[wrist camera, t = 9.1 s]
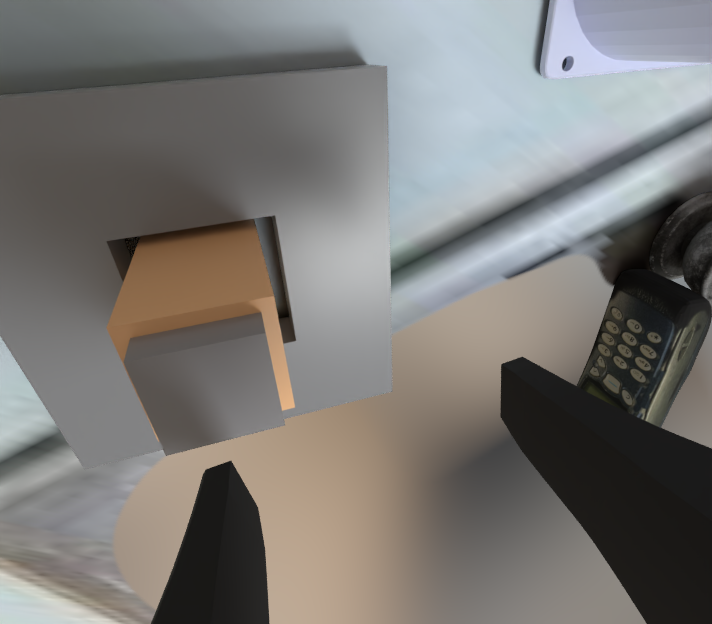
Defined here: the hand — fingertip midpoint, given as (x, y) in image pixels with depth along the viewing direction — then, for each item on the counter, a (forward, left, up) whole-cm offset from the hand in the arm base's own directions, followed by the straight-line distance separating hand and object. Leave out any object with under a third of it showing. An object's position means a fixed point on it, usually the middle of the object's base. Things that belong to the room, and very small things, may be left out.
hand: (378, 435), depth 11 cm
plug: (+4, -1, -10) cm, 10 cm away
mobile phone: (-18, +11, -10) cm, 24 cm away
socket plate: (+4, -1, -10) cm, 10 cm away
